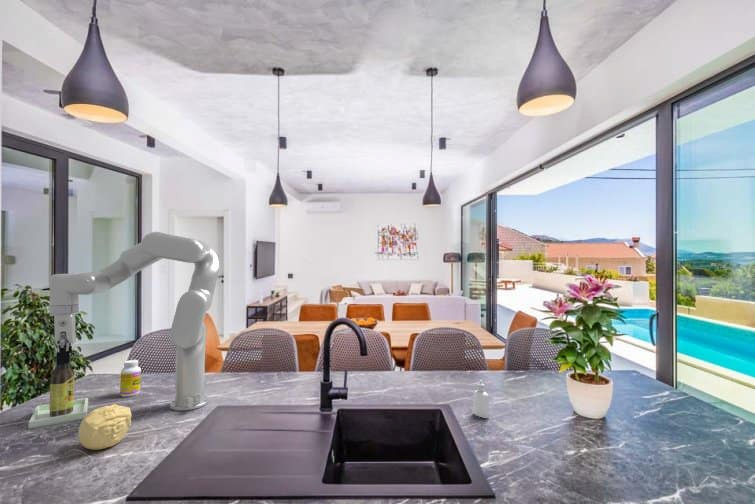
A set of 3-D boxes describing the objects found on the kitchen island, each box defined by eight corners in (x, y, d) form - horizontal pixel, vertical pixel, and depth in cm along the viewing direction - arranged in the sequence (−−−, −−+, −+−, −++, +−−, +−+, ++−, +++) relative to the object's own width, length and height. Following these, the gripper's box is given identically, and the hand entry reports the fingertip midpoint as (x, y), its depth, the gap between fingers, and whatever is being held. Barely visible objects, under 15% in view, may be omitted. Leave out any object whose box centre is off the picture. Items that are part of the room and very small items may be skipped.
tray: (86, 418, 124) (86, 411, 124) (28, 429, 115) (28, 422, 116) (88, 403, 137) (88, 397, 137) (36, 412, 128) (36, 406, 128)
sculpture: (89, 459, 98) (90, 417, 99) (70, 447, 105) (71, 408, 105) (136, 441, 108) (137, 403, 108) (116, 431, 114) (117, 395, 115)
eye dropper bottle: (484, 412, 130) (484, 377, 131) (490, 419, 125) (490, 382, 125) (472, 412, 130) (472, 377, 130) (477, 419, 124) (477, 382, 125)
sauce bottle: (72, 415, 125) (73, 355, 126) (47, 419, 122) (49, 357, 122) (74, 408, 130) (76, 351, 131) (51, 412, 127) (52, 353, 127)
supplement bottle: (132, 397, 143) (133, 363, 144) (115, 397, 143) (116, 363, 144) (144, 391, 150) (144, 359, 150) (127, 391, 150) (128, 359, 150)
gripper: (76, 311, 122) (77, 364, 122) (80, 306, 136) (80, 354, 136) (46, 313, 118) (46, 368, 118) (52, 308, 132) (53, 357, 132)
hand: (64, 360), depth 127 cm, fingers open, 9 cm apart
